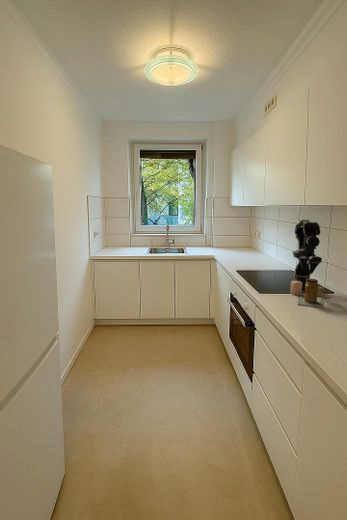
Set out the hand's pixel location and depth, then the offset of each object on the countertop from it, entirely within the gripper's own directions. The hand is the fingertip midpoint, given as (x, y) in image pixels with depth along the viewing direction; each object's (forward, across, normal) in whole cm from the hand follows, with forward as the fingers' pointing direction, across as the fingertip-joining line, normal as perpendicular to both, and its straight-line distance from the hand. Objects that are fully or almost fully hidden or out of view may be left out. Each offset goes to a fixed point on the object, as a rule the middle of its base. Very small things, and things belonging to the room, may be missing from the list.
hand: (306, 272), depth 175 cm
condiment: (+13, +16, -4) cm, 21 cm away
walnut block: (+13, +2, +6) cm, 15 cm away
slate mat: (+13, +16, -5) cm, 21 cm away
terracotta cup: (+13, -1, -5) cm, 14 cm away
